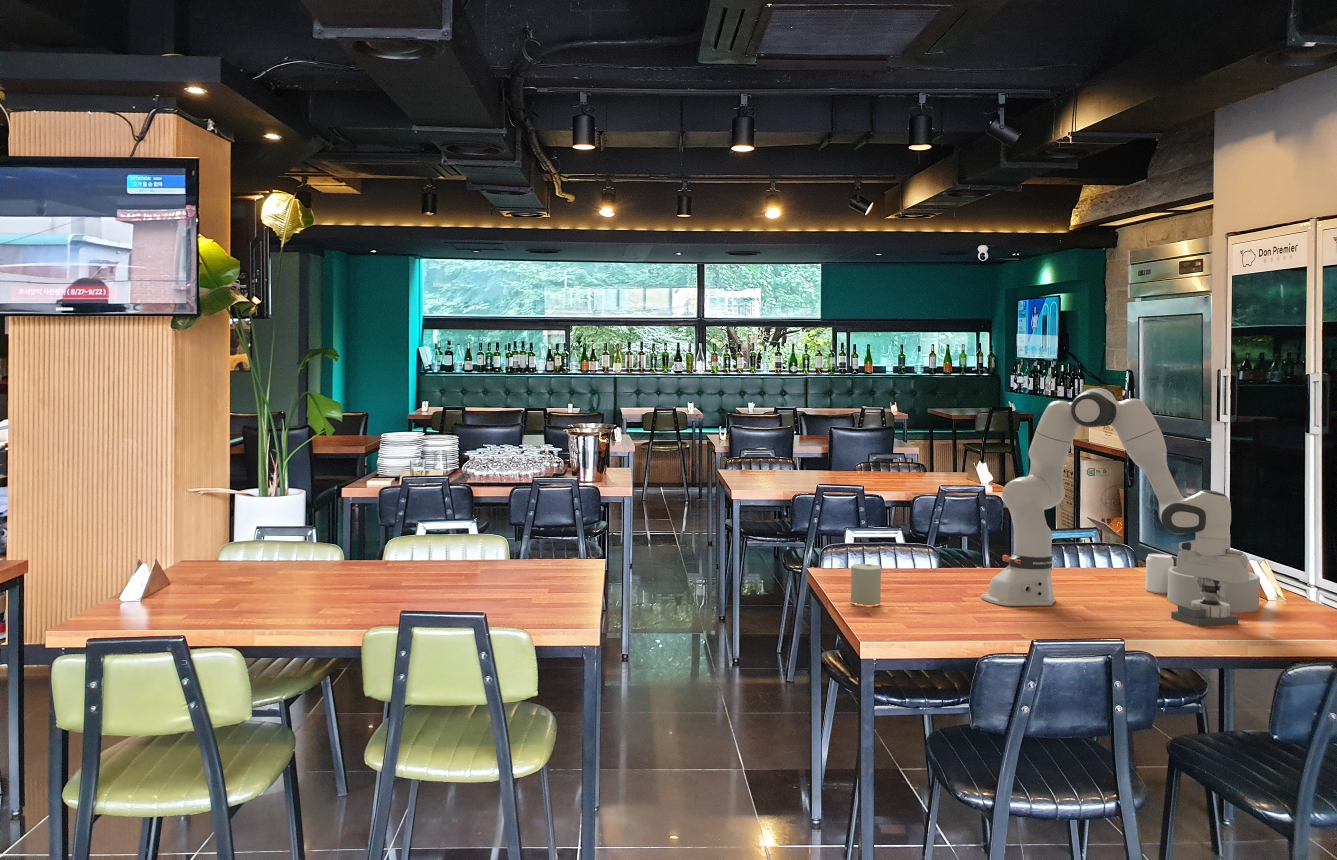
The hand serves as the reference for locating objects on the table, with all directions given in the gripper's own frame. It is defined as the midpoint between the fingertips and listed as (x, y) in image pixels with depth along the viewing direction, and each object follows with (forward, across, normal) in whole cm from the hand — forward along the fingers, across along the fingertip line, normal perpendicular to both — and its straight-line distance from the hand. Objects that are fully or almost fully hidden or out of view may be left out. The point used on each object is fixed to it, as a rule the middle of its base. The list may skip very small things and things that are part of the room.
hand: (1211, 594), depth 287 cm
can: (+8, +59, +78) cm, 98 cm away
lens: (+3, 0, 0) cm, 3 cm away
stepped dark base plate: (+8, 0, +2) cm, 8 cm away
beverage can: (+8, +34, -22) cm, 41 cm away
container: (+8, +15, -22) cm, 28 cm away
